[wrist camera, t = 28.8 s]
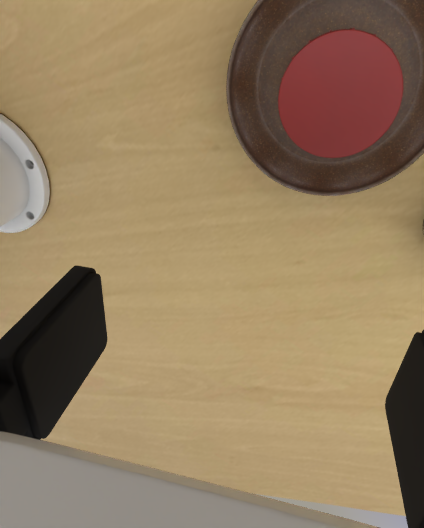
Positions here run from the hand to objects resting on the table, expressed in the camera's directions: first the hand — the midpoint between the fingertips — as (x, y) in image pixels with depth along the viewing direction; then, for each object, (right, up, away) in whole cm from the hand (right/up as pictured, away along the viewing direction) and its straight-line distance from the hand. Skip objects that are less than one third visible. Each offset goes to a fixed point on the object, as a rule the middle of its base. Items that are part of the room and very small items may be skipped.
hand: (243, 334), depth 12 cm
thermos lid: (+7, +14, +14) cm, 21 cm away
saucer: (+8, +15, +16) cm, 24 cm away
